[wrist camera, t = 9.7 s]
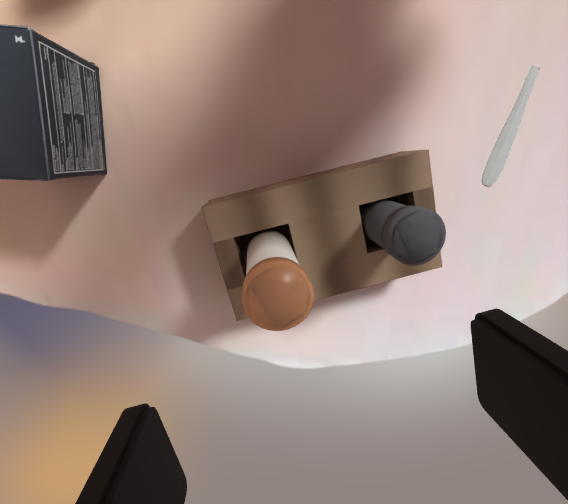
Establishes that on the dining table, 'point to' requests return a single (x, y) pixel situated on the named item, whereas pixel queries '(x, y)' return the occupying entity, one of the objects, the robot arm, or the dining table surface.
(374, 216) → the black plug
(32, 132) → the small box
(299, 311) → the orange-brown and white plug
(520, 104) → the butter knife
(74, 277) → the dining table surface
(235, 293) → the block
